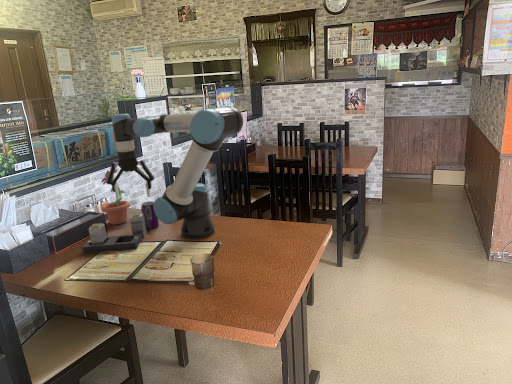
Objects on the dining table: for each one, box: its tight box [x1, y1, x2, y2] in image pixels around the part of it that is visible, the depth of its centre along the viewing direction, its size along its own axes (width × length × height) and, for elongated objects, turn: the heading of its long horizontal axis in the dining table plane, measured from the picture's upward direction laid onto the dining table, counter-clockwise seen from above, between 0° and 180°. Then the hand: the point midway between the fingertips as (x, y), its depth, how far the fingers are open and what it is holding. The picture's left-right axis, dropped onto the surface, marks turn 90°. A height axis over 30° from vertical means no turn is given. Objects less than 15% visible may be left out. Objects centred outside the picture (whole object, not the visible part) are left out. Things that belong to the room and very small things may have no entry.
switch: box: [81, 222, 143, 255], centre depth 168 cm, size 22×10×11 cm, turn 93°
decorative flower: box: [101, 166, 131, 225], centre depth 198 cm, size 15×14×30 cm
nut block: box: [129, 212, 148, 239], centre depth 178 cm, size 5×5×11 cm
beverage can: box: [140, 201, 160, 229], centre depth 189 cm, size 7×7×12 cm
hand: (133, 197), depth 175 cm, fingers open, 13 cm apart
